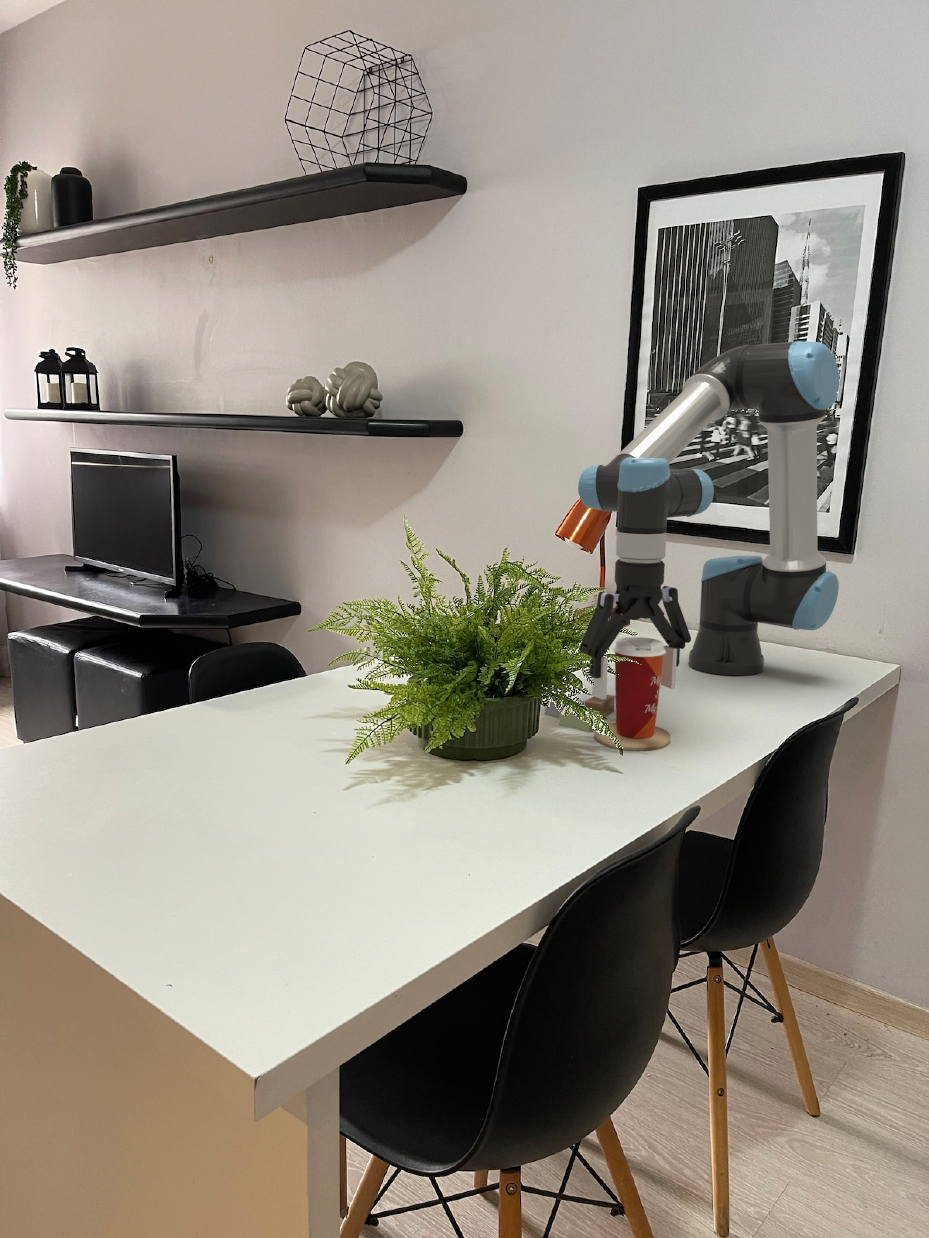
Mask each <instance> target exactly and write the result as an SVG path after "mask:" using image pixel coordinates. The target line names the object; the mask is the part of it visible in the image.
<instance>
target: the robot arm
mask: <svg viewBox="0 0 929 1238" xmlns="http://www.w3.org/2000/svg"><path fill="white" fill-rule="evenodd" d="M839 389H840V374H839V368H838V364H837V359H836V358H835V356H834V353H833V352H832V351H831V350H830V348H829V347H828V346H827V345H826V344H824V343H822V342H817V341H803V340H797V341H796V340H795V341H788V342H787V341H786V342H774V343H773V342H772V343H761V344H760V343H759V344H744V345H741V346H736V347H734V348H732V349H728V350H726V351H725V352H723V353H721V354H719V355H718V356H715V357H714V358H712V359H711V360H709V361H707V362H706V363H705V364H703V365H702V366H700V368H698V369H697V370H696V371H695V372H694V373H693V374H692V375H691V376H690V377H689V378H688V379H686V381H685V382H684V384H683V385H682V390H681V391H682V392H681V393H680V394H679V395H678V396H677V397H676V398H675V399H674V400H672V402H670V403H669V404H668V405H667V406H666V407H665V408H664V409H663V410H662V411H661V412H660V413H659V414H658V415H657V416H656V417H655V418H654V419H653V420H652V421H651V422H650V423H649V424H648V425H647V426H646V427H644V429H643V430H642V431H641V432H640V433H639V434H638V435H636V436H635V437H634V438H633V440H631V441H630V442H629V443H628V444H627V445H626V446H625V447H624V448H623V449H622V450H621V451H620V452H619V453H618V454H617V455H615V457H614V458H613V459H612V460H611V461H610V462H609V463H607V464H606V465H603V464H598V465H590V466H587V467H586V468H585V469H584V470H583V471H582V472H581V475H580V476H579V479H578V488H577V489H578V490H577V491H578V496H579V499H580V501H581V503H582V504H583V506H585V507H586V508H588V509H592V510H599V511H603V512H615V513H617V525H616V541H615V544H616V545H615V546H616V547H615V556H616V557H617V558H618V559H617V560H616V561H615V562H614V563H615V564H614V582H615V584H616V586H615V587H616V590H615V592H614V593H609V592H604V591H599V592H598V595H597V603H596V607H595V609H594V612H593V614H592V616H591V619H590V621H589V624H588V625H587V627H586V630H585V633H584V635H583V637H582V640H581V642H580V643H579V646H578V652H580V653H582V654H585V655H586V656H588V657H589V656H591V657H592V659H591V664H592V665H591V667H590V666H589V671H588V672H589V676H590V677H591V678H592V683H593V682H594V685H593V684H592V686H591V688H592V689H591V695H592V697H594V696H595V697H597V698H600V699H602V700H604V699H606V695H607V694H608V693H607V687H608V663H609V662H608V661H609V658H608V657H606V656H605V654H607V652H608V650H609V649H610V647H611V645H612V644H613V643H614V641H615V640H616V639H617V637H618V635H619V634H620V632H621V631H622V630H623V628H624V627H625V626H626V625H627V624H629V623H630V622H631V621H638V620H640V619H645V620H646V619H647V620H649V619H650V621H651V622H652V624H653V625H654V627H655V629H656V630H657V632H659V635H660V636H661V637H662V639H663V640H664V641H665V643H666V645H663V646H664V649H665V651H666V653H665V654H664V655H663V663H662V672H661V681H660V686H662V687H666V688H668V689H670V690H671V689H672V690H674V689H675V688H676V680H677V679H676V678H677V675H676V674H677V667H679V665H680V652H681V650H684V649H685V647H686V643H687V644H689V643H691V642H692V637H691V634H690V631H689V628H688V625H687V623H686V620H685V617H684V614H683V611H682V608H681V605H680V603H679V590H678V588H676V587H672V586H667V585H664V583H665V582H664V581H665V567H666V566H665V565H666V564H665V562H664V561H663V560H662V559H664V558H665V557H666V548H667V547H666V545H667V544H666V543H667V523H668V522H667V521H668V518H669V519H670V518H681V517H688V518H689V517H692V516H695V515H700V514H701V513H703V512H705V511H706V510H708V508H709V507H710V506H711V504H712V502H713V499H714V495H715V494H714V493H715V490H714V489H715V487H714V484H713V481H712V479H711V477H710V476H709V475H708V474H707V473H706V472H705V471H703V470H701V469H697V468H692V467H691V468H687V467H684V468H670V464H671V463H672V462H673V461H674V460H675V459H676V458H677V457H678V456H679V454H681V453H682V452H683V451H684V450H685V449H686V448H687V447H688V446H689V444H690V443H692V441H694V440H695V439H696V437H697V436H698V435H700V434H701V432H702V431H703V430H704V429H705V428H706V427H707V426H708V425H709V424H710V423H711V422H715V421H719V420H721V419H722V418H724V417H725V415H727V414H728V413H730V412H732V411H737V410H757V411H758V415H757V416H758V423H759V424H761V425H762V426H763V427H764V428H765V429H766V431H767V463H768V465H767V467H768V469H767V470H768V472H767V473H768V474H767V475H768V509H769V511H768V513H769V516H768V517H769V519H768V520H769V554H767V555H766V557H765V558H764V559H763V557H762V556H761V555H736V556H735V555H734V556H724V557H723V556H722V557H717V558H715V557H714V558H710V559H709V560H707V561H706V562H704V564H703V568H702V575H701V580H700V583H701V587H700V588H701V589H700V590H701V591H700V606H699V607H700V608H699V626H698V630H697V633H696V636H695V639H694V642H693V645H692V649H691V650H690V651H689V653H688V666H689V667H690V668H692V669H694V670H697V671H700V672H703V673H709V674H715V675H720V676H721V675H724V676H747V675H748V676H749V675H755V674H759V673H762V672H763V671H764V669H765V668H764V667H765V666H764V665H765V657H764V654H762V648H761V642H760V638H759V635H758V634H759V633H758V625H759V624H765V625H772V626H777V627H783V628H787V629H793V630H797V631H798V630H803V631H816V630H819V629H820V628H822V627H823V626H824V625H825V624H826V623H827V622H828V620H829V619H830V618H831V615H832V613H833V611H834V610H835V607H836V604H837V600H838V596H839V590H840V589H839V588H840V583H839V579H838V576H837V575H836V574H835V573H834V572H833V571H830V570H828V571H827V559H826V557H825V556H823V554H821V553H820V552H819V550H818V431H817V430H818V429H817V428H818V426H819V424H820V423H821V422H822V421H823V420H824V419H825V418H826V416H827V415H826V414H827V413H826V412H827V409H830V408H831V407H832V406H833V405H834V404H835V402H836V400H837V398H838V393H837V392H839ZM662 585H664V586H662ZM661 587H662V588H661ZM661 601H662V604H663V608H664V609H665V612H666V613H664V611H663V610H662V608H661V606H660V605H659V604H660V603H661ZM665 615H667V618H666V616H665ZM668 620H669V621H668ZM758 623H759V624H758Z"/></svg>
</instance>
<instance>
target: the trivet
mask: <svg viewBox="0 0 929 1238" xmlns="http://www.w3.org/2000/svg"><path fill="white" fill-rule="evenodd" d="M607 724H608V726H609V729H610V730H611V732H613V734H614V735H615V736H616V738H617V739H618V740H619V743H620V744H621V746H622V747H623V751H631V752H647V751H648V752H649V751H657V750H659V749H663V748H665V747H667V746H668V745H669V744H671V734H670V732H669V731H667V730H666V729H664V728H663V727H659V726H656V725H655V730H654V735H653V736H652V737H649V738H644V739H634V738H627V737H623V736H621V735H619V734H618V733H617V730H616V721H615V722H609V723H607ZM594 740H596V742H597V743H598V744H601V745H603V746H605V747H609V748H611V749H616V750H618V749H617V747H616V744H615V743H614V742H613V740H612V739H611V738H610V737H609V736H607V735H602V734H599V733H598V732H596V730H594Z"/></svg>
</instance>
